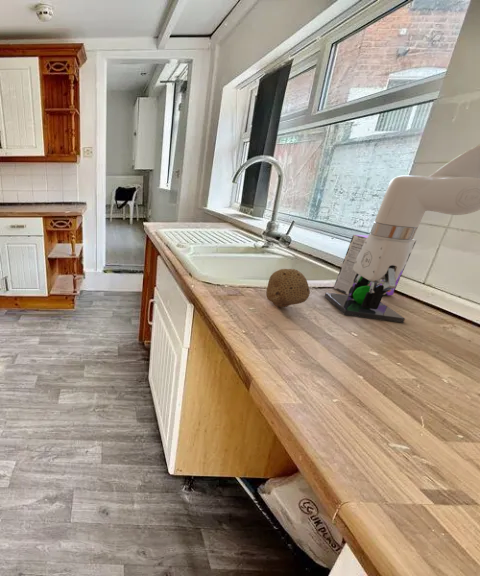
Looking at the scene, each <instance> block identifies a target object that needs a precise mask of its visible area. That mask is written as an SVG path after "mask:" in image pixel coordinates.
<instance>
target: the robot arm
mask: <svg viewBox="0 0 480 576" xmlns="http://www.w3.org/2000/svg"><path fill="white" fill-rule="evenodd" d="M427 211H428V212H434V213H435V212H436V213H440V214H445V215H451V216H462V215H468V214H472V213H475V212H478V211H480V143H479V144H476V145H475V146H473V147H470V148H469V149H468V150H466V151H464V152H463V153H461V154H459V155H457V156H456V157H454V158H453V159H451V160H450V161H448V162H447V163H445V164H444V165H443V166H440V168H438V169H437V170H435V171H434V172H433V173H431V174H430V175H429V176H425V175H396V176H395V177H393V178H392V179H391V180H390V181H389V183H388V185H387V188H386V191H385V193H384V195H383V197H382V200H381V203H380V207H379V208H378V211H377V214H376V216H375V220H374V222H373V224H372V227H371V230H370V232H369V234H368V235H369V236H368V238H367V239H366V241H365V243H364V245H363V246H362V248H361V250H360V253H359V255H358V257H357V259H356V262H355V264H354V267H353V270H354V271H355V272H356V273H357V274H356V275H357V278H356V280H355V283H356V284H355V285H354V288H353V290H352V293H351V295H350V298H351V299H354V298H353V293H354V291H355V290H356V289H357V288H358V287H361V286H369V284H370V282H371V281H372V282H371V286H370V291H369V292H367V293H366V295H365V298H364V300H363V303H362V305H361V306H362V307H363V308H369V309H377V308H378V306H379V304H380V302H382V299H383V297H384V296H386V295H385V294H386V292H388V291H389V290H391V289H393V288H395V286H396V284H395V281H396V280H397V278H398V276H399V274H400V272H401V270H402V267H403V265H404V262H405V259H406V256H407V253H408V249H409V245H410V242H412V240H413V239H414V237H415V235H416V233H417V230H418V228H419V226H420V224H421V222H422V220H423V217H424V215H425V212H427ZM380 279H382V280H384V281H378V280H380ZM377 283H379V284H382V285H379V286H378V287H376V285H377ZM396 287H397V286H396Z"/></svg>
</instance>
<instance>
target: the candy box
mask: <svg viewBox="0 0 480 576" xmlns="http://www.w3.org/2000/svg"><path fill="white" fill-rule="evenodd" d="M368 236H369V234H353V235H352V237H351V239H350V242H349V245H348V247H347V251H346V253H345V256H344V258H343V260H342V264H341V265H340V268H339V269H340V270H339V271H338V275H337V278H336V279H335V283H334V286H333V289H335V290H337V291H338V292H341V293H343V294H344V295H351V293H352V290H353V288H354V285H355V284H356V283H355V280H356V278H357V275H356V274H357V273H356V272H355V271H354V270H353V267H354V264H355V262H356V259H357V257H358V255H359V253H360V250H361V248H362V246H363V245H364V243H365V241H366V239H367V238H368ZM416 242H417V239H414V238H413V240H412V242H410V245H409V249H408V253H407V256H406V259H405V262H404V265H403V267H402V270H401V272H400V274H399V276H398V278H397V280H396V281H395V284H396V286H395V288H393V289H391V290H389V291H388V292H386V294H385V295H384V296H394V293H395V291H396V289H397V286H398V284H399V282H400V279H401V277H402V275H403V272H404V270H405V268H406V265H407V263H408V262H409V258H410V257H411V254H412V252H413V249H414V247H415V245H416ZM378 281H384V280H382V279H380V280H378ZM371 282H372V281H371ZM371 282H370V284H369V286H371ZM379 285H382V284H379V283H377V285H376V287H378V286H379Z"/></svg>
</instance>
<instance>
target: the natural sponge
mask: <svg viewBox="0 0 480 576" xmlns="http://www.w3.org/2000/svg"><path fill="white" fill-rule="evenodd" d="M310 295H311V290H310V286H309V283H308V281H307V278H306V277H305V275H304V273H302V272H300V271H299V270H298V269H295V268H280V269H278V270H275V271H274V272H273V273H271V275H270V277H269V278H268V283H267V287H266V290H265V296H266V299H267V300H268V301H269V302H271V303H272V304H273V305H274V306H275V307H279V308H286V307H289V306H295V305H299V304H302V303H305V302H306V301H307V300H308V299H309V298H310Z"/></svg>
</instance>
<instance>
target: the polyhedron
mask: <svg viewBox="0 0 480 576" xmlns="http://www.w3.org/2000/svg"><path fill="white" fill-rule="evenodd" d="M369 291H370V286H361V287H358V288H357V289H356V290H355V291H354V293H353V298H354V300H355V301H356V302H357V303H358V304H360V305H362V303H363V300H364V298H365V295H366V293H367V292H369Z"/></svg>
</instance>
